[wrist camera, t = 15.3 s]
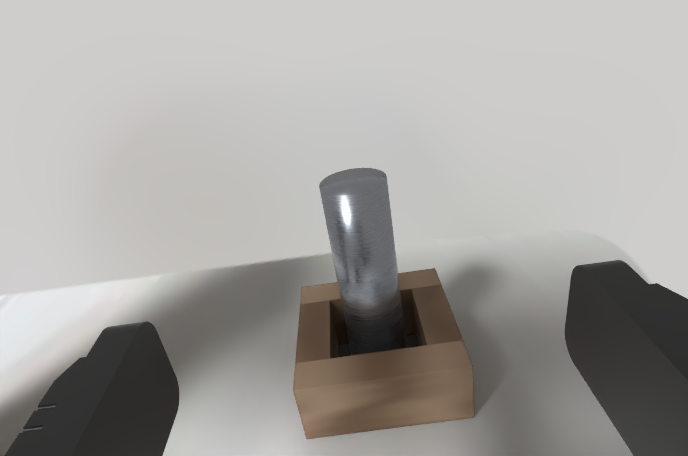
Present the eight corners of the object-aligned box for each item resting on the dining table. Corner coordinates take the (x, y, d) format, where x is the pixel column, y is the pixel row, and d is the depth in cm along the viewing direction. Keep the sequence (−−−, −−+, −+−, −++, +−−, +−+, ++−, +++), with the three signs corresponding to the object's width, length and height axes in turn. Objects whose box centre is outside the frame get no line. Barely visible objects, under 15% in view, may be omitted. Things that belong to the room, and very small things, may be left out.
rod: (356, 392, 26) (318, 199, 21) (353, 352, 29) (319, 174, 23) (413, 384, 26) (390, 188, 20) (404, 345, 29) (382, 164, 23)
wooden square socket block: (306, 438, 24) (293, 390, 22) (311, 329, 32) (301, 287, 30) (474, 417, 24) (472, 366, 22) (438, 311, 31) (434, 268, 30)
